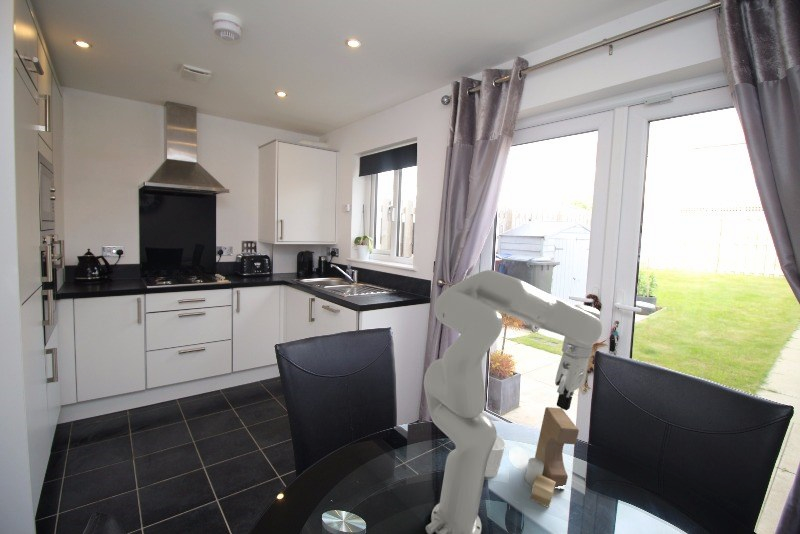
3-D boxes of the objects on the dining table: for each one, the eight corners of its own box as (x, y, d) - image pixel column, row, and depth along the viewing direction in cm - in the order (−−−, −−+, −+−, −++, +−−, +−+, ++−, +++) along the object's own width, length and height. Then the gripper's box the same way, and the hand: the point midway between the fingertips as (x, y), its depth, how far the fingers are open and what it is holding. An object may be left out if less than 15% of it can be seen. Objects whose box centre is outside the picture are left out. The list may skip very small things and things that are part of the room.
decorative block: (565, 490, 114) (580, 430, 110) (546, 489, 114) (560, 428, 110) (550, 463, 125) (563, 407, 121) (533, 462, 125) (545, 406, 120)
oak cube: (548, 508, 107) (552, 492, 106) (530, 498, 110) (533, 483, 109) (552, 496, 111) (555, 481, 110) (534, 488, 114) (537, 473, 113)
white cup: (468, 462, 121) (473, 434, 119) (489, 458, 124) (494, 430, 122) (483, 481, 114) (488, 451, 112) (505, 476, 117) (510, 447, 115)
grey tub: (535, 488, 114) (539, 470, 112) (522, 479, 117) (525, 461, 116) (543, 481, 117) (546, 464, 115) (529, 472, 120) (533, 455, 119)
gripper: (578, 359, 102) (563, 422, 106) (600, 349, 113) (586, 406, 116) (551, 348, 108) (538, 408, 112) (575, 339, 118) (561, 394, 122)
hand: (562, 407), depth 114 cm, fingers closed
